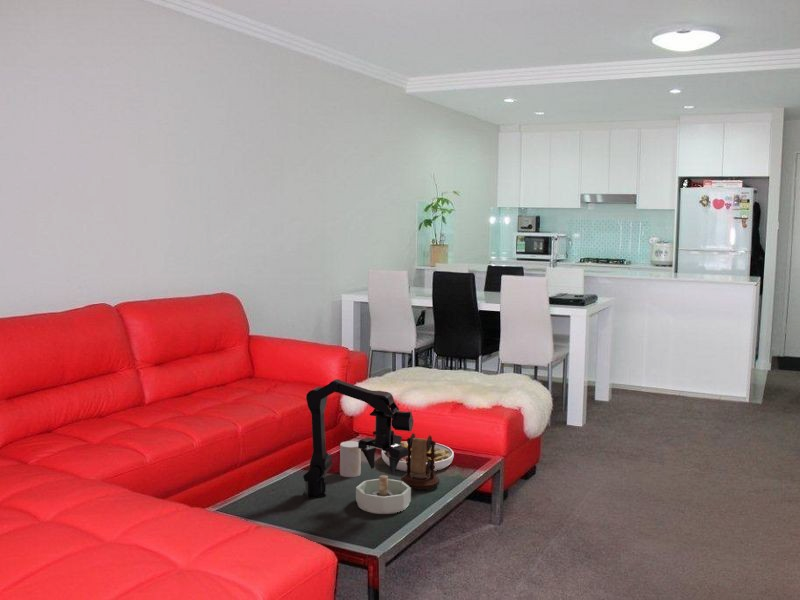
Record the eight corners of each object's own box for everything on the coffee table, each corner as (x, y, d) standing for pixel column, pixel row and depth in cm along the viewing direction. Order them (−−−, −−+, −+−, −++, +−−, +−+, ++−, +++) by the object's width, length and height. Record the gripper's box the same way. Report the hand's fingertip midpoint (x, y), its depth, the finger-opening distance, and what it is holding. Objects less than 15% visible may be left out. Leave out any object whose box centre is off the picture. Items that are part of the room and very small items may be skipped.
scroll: (395, 489, 283) (396, 437, 281) (408, 476, 297) (409, 427, 295) (432, 494, 278) (434, 442, 276) (444, 482, 292) (445, 431, 290)
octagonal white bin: (368, 517, 256) (369, 500, 255) (350, 498, 273) (350, 482, 272) (417, 509, 263) (418, 493, 263) (396, 491, 280) (396, 476, 279)
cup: (351, 478, 293) (351, 448, 292) (335, 474, 298) (336, 444, 297) (364, 473, 300) (365, 443, 298) (349, 468, 305) (349, 439, 303)
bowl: (427, 448, 335) (428, 431, 334) (467, 468, 309) (468, 449, 308) (368, 458, 319) (368, 440, 319) (405, 480, 294) (405, 460, 293)
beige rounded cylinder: (381, 503, 266) (381, 478, 265) (377, 500, 269) (378, 475, 268) (388, 502, 267) (389, 477, 266) (385, 499, 270) (385, 474, 269)
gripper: (418, 428, 266) (417, 471, 268) (377, 419, 277) (376, 460, 279) (398, 435, 257) (397, 479, 259) (357, 425, 269) (356, 467, 270)
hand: (382, 471), depth 267 cm, fingers open, 9 cm apart
